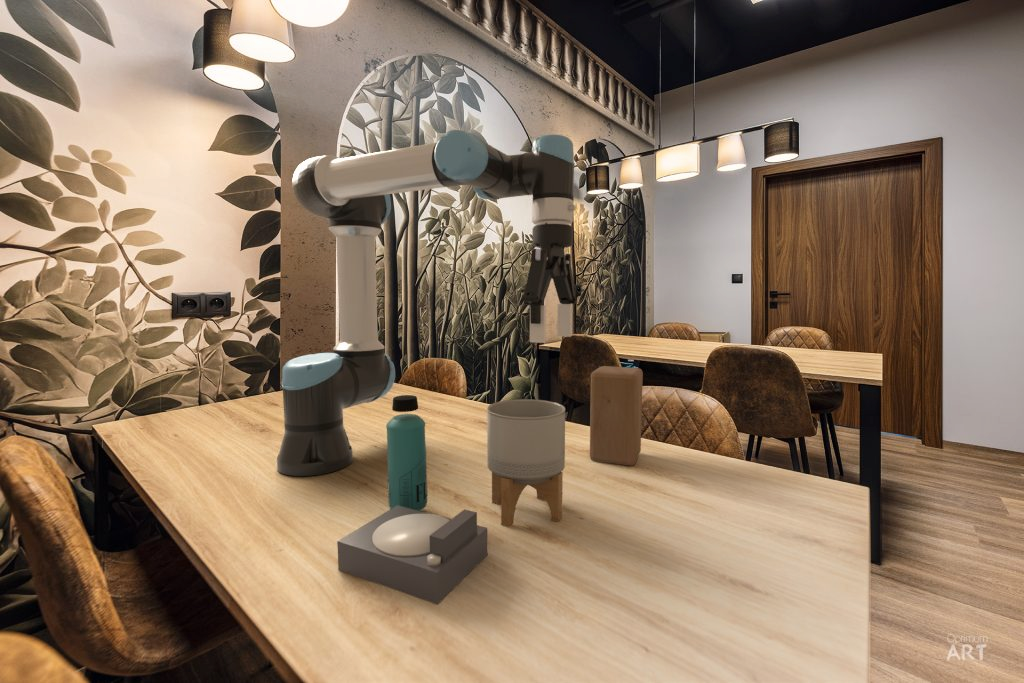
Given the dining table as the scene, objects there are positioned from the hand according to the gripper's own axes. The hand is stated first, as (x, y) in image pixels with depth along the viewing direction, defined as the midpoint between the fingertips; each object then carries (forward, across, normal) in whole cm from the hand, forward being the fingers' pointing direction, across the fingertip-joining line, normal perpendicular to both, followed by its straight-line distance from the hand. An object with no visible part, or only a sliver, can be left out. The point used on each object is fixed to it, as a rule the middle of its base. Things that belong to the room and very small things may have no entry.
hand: (551, 339), depth 90 cm
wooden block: (+28, +20, -8) cm, 35 cm away
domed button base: (+28, -34, +6) cm, 45 cm away
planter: (+28, -13, -1) cm, 31 cm away
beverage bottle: (+28, -23, +16) cm, 40 cm away
